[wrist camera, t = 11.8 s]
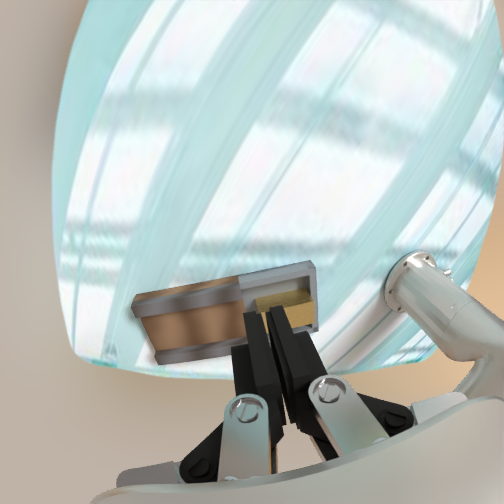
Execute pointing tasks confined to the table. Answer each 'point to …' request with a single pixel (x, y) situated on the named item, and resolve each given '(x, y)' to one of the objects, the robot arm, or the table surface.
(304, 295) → the tan cube
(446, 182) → the table surface
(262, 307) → the golden wooden cube
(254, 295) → the tray
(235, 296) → the slot block
